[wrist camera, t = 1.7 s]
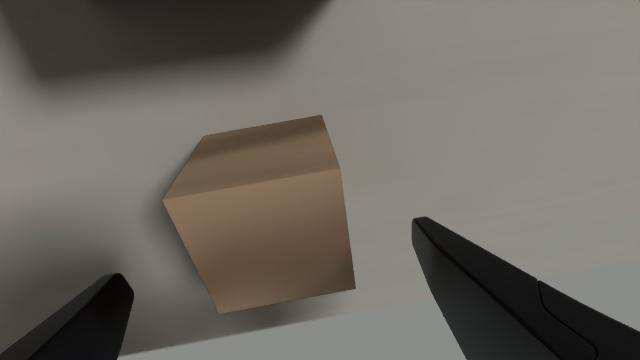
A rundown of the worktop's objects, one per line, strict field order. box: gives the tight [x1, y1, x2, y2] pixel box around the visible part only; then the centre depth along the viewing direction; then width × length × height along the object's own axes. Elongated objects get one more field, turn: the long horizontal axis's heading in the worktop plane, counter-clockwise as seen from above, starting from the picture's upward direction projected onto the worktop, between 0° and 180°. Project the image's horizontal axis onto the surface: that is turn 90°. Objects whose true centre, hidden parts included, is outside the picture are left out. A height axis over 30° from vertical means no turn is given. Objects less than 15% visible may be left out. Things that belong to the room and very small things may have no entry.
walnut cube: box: [162, 115, 356, 314], centre depth 12 cm, size 5×5×5 cm
